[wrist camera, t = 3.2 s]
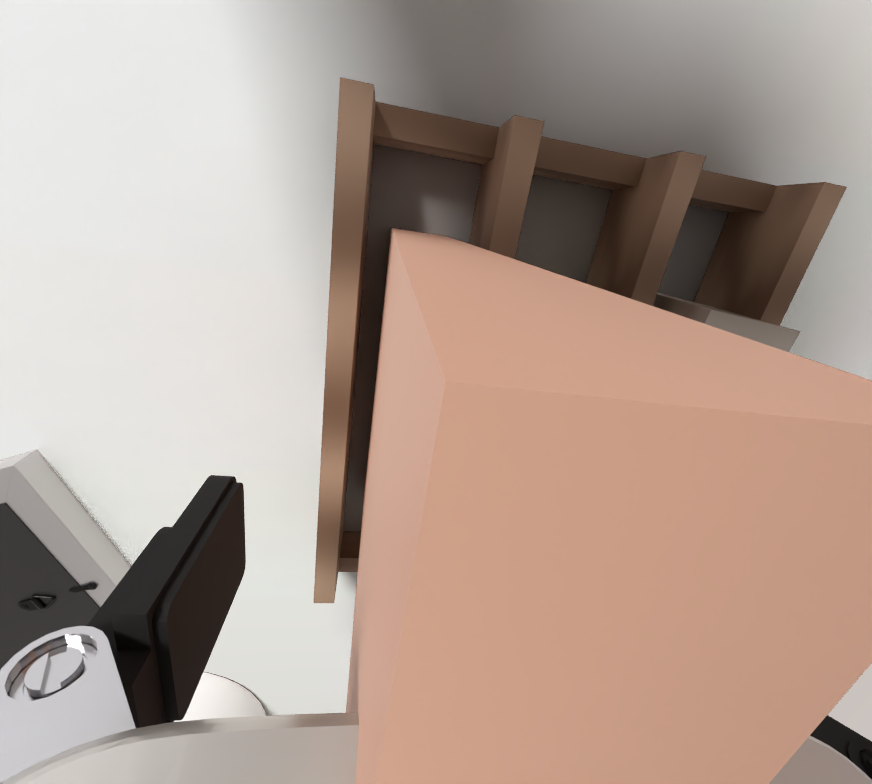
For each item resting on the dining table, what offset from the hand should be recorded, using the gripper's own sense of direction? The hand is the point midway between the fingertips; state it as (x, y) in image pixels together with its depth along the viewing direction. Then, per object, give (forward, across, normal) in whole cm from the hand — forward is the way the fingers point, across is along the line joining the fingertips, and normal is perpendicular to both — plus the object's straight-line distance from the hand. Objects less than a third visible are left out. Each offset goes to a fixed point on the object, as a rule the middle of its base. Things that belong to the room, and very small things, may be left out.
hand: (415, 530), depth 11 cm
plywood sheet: (+10, 0, -1) cm, 10 cm away
